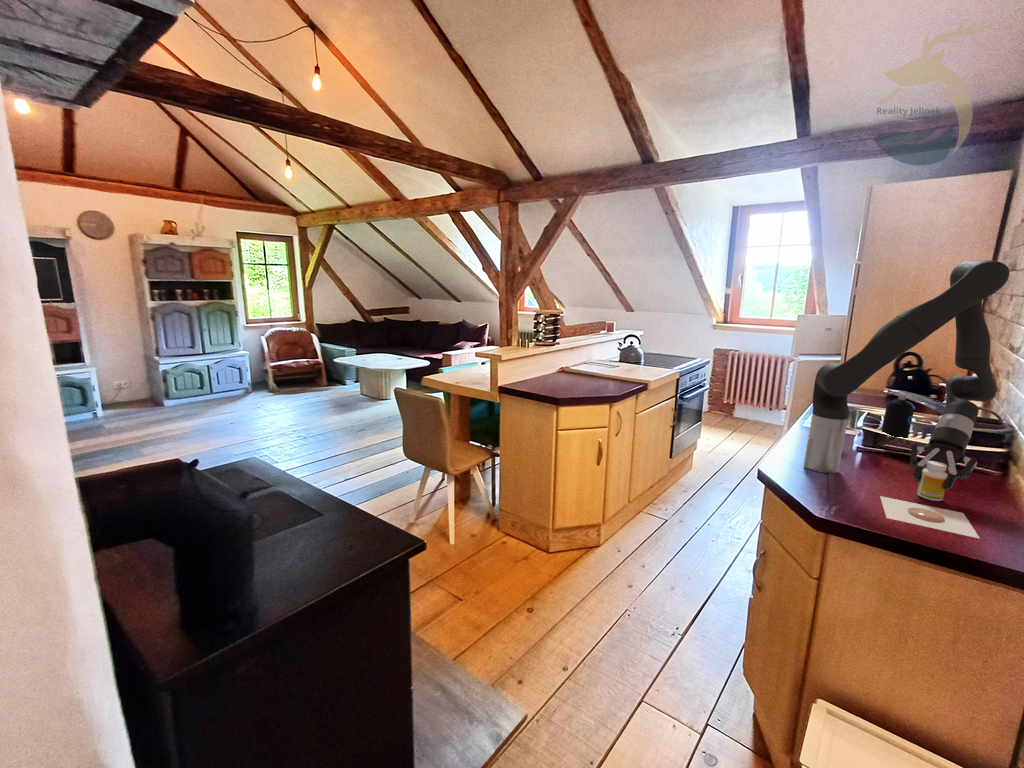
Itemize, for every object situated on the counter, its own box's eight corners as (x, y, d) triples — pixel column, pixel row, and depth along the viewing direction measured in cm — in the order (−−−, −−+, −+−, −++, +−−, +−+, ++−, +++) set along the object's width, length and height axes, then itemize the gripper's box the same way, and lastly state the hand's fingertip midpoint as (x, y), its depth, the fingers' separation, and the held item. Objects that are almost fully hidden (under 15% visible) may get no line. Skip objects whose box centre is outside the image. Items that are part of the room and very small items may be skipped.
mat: (886, 520, 117) (886, 517, 117) (879, 498, 130) (879, 496, 130) (979, 541, 108) (980, 538, 108) (962, 515, 121) (963, 513, 121)
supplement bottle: (947, 502, 126) (956, 468, 124) (924, 500, 127) (932, 466, 125) (934, 494, 131) (942, 460, 129) (912, 491, 132) (919, 458, 130)
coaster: (909, 517, 118) (910, 515, 118) (905, 506, 124) (905, 505, 124) (947, 525, 114) (947, 523, 114) (940, 513, 120) (941, 512, 120)
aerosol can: (881, 449, 170) (892, 395, 166) (874, 442, 177) (884, 390, 173) (910, 453, 167) (922, 397, 163) (901, 446, 174) (912, 393, 170)
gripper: (918, 419, 135) (897, 468, 130) (988, 433, 124) (967, 487, 119) (919, 434, 140) (898, 481, 135) (986, 448, 129) (967, 501, 124)
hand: (931, 484), depth 127 cm, fingers closed on supplement bottle, 5 cm apart
